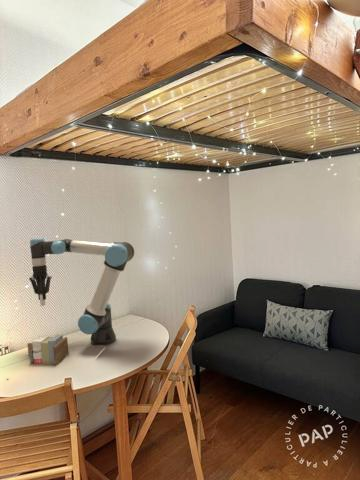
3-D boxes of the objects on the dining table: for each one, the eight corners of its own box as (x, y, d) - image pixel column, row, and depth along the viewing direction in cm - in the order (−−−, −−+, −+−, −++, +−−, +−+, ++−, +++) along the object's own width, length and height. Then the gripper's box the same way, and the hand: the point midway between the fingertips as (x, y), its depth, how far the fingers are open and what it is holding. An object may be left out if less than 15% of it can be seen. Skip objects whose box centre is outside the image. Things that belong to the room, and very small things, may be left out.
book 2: (63, 356, 179) (62, 334, 178) (55, 363, 170) (54, 340, 169) (57, 356, 179) (56, 334, 179) (49, 363, 170) (48, 340, 170)
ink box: (42, 363, 171) (40, 341, 170) (33, 364, 171) (31, 341, 171) (50, 356, 179) (48, 335, 179) (42, 356, 180) (40, 335, 179)
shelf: (68, 356, 181) (67, 337, 180) (57, 367, 168) (55, 346, 168) (29, 357, 184) (27, 337, 183) (15, 367, 171) (13, 347, 170)
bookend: (42, 356, 180) (41, 344, 180) (33, 363, 171) (32, 350, 171) (39, 356, 181) (38, 344, 180) (30, 363, 172) (29, 350, 171)
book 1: (57, 356, 179) (56, 337, 178) (49, 363, 170) (48, 343, 170) (50, 356, 179) (49, 336, 179) (42, 363, 171) (40, 342, 170)
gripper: (53, 263, 194) (56, 303, 195) (32, 264, 195) (36, 304, 197) (46, 265, 186) (50, 306, 188) (24, 266, 188) (28, 307, 189)
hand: (43, 305), depth 192 cm, fingers closed
